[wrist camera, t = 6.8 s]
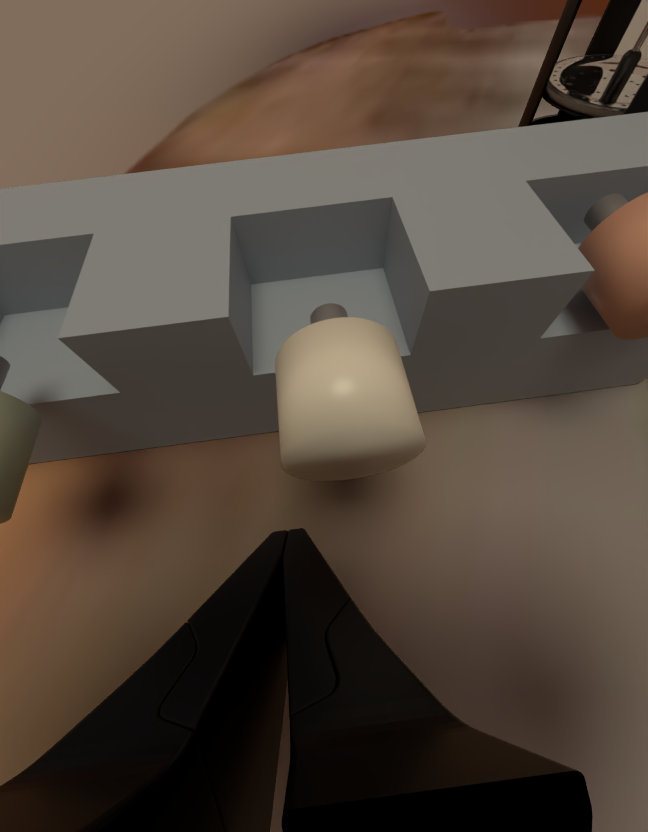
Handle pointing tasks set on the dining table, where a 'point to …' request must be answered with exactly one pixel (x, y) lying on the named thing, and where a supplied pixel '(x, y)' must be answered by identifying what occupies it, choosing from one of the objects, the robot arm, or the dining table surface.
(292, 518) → the dining table surface
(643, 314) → the terracotta button
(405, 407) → the cream button
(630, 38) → the milk
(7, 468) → the pale green rounded cylinder
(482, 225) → the block
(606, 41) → the french press
